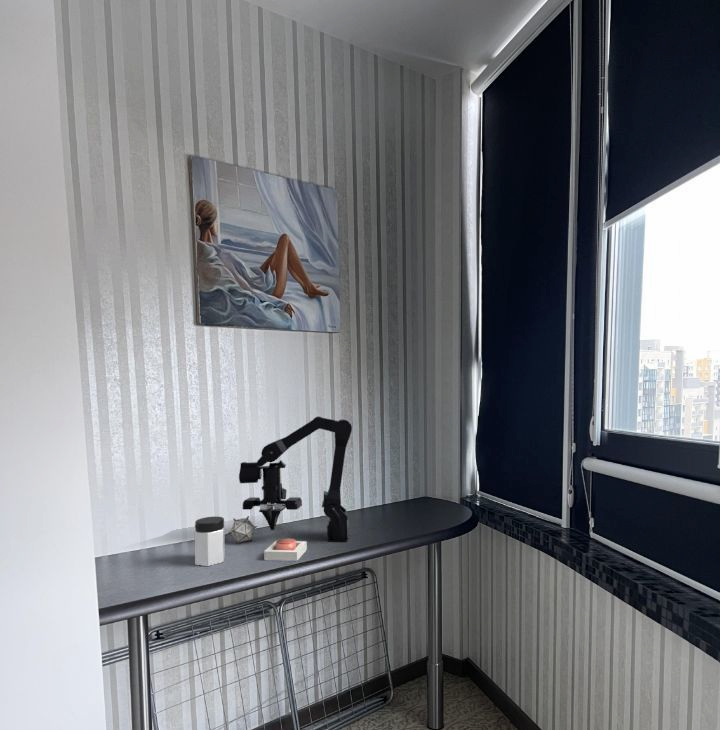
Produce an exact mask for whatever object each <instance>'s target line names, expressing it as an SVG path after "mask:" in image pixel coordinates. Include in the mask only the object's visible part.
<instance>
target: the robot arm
mask: <svg viewBox="0 0 720 730" xmlns="http://www.w3.org/2000/svg"><path fill="white" fill-rule="evenodd" d="M317 430H325V431H329V432H332V433H334V453H333V461H332V467H331V474H330V481H329V482H330V483H329V486H328V490H327V491H326V490H323V499H322V502H321V508H323V514H324V515H325V516H326V517H328V518H329V520H328V524H327V525H326V531H327V532H326V533H327V535H326V536H327V537H326V538H327V542H334V543H335V542H339V543H340V542H343V543H344V542H345V543H346V542H348V541H349V539H350V538H351V534H350V522H349V521H350V519H349V516H348V511H347V509H346V508H345V507H344V506H343V505H342V498H341V495H342V494H341V486H342V480H343V479H342V478H343V472H344V471H343V470H344V466H345V458H346V457H345V455H346V449H347V446H348V443H349V441H350V437H351V434H352V431H353V427H352V424H351V423H350V421H349V420H347V419H344V418H342V419H339V420H335V419H330V418H325V417H322V416H320V415H319V416H318V415H317V416H314V418H313V419H312V420H310V421H309V422H307V423H306V424H303V425H302V426H301V427H299V428H298V429H296V430H294V431H293V432H292V433H289V434H288V435H286V436H285V437H282V438H280V439H277V440H275V441H272V442H270V443H267V444H266V445H265V446H264V447H263V448H262V449H261V452H260V453H261V456H260V457H259V458H258V459H257V461H253V462H246V461H243V462H240V468H239V474H238V480H239V484H254V483H258V482H259V480H262V486H261V491H263V492H262V493H263V494H262V495H263V496H262V497H263V498H262V499H261V498H260V497H257V496H256V497H251V496H250V497H248V498H246V499H244V500H243V502H242V510H252V509H253V508H254V507H259V510H258V512H259V513H261V514H262V515H263V517H264V519H265V521H266V522H267V524H268V527H269V528H270V530H271V531H275V529H276V526H277V524H278V523H277V522H278V519H279V517H280V514H281V512H283V511H284V510H285V509H286V510H291V511H293V510H295V511H296V510H299V509H300V508H301V507H302V506H303V500H302V499H301V497H300V496H299V497H294V496H293V497H292V496H291V497H288V499H287V489H286V488H284V487H283V483H281V481H282V480H281V469H285V468H286V467H287V464H286V463H284V462H283V460H279V461H278V462H275V461H277V460H278V459H279V458H280V457H281V456H282V455H283V454H284V453H285V452H287V451H288V449H289V448H291V447H292V446H294V445H296V444H297V443H298V442H299V443H300V442H301V441H302V440H303V439H306V437H308V436H310V435H311V434H313V433H315V432H316V431H317ZM267 463H269V464H268V465H266V464H267Z"/></svg>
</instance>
